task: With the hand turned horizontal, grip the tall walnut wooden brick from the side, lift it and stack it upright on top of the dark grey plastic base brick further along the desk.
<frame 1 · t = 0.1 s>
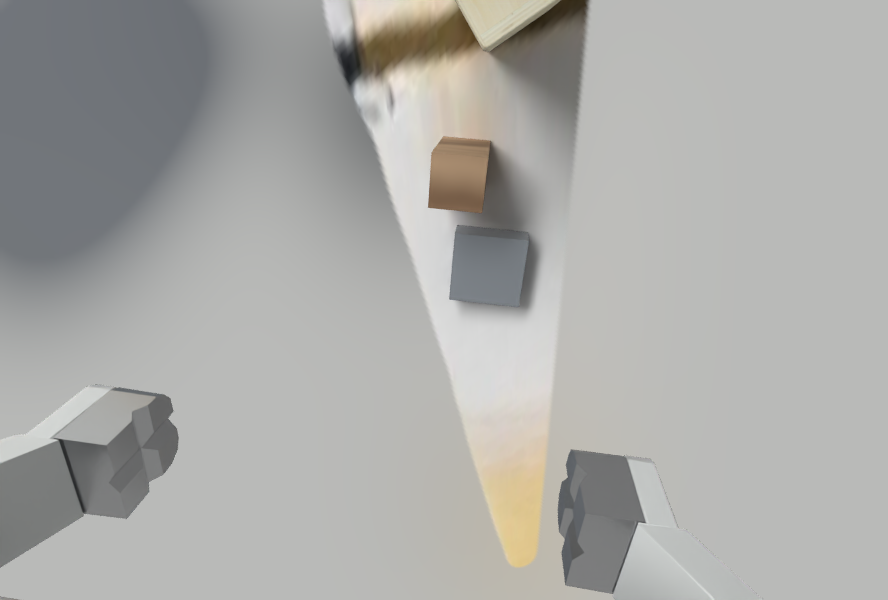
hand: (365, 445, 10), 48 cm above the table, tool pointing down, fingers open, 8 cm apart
walnut brick: (464, 162, 55), on the table
base brick: (488, 261, 59), on the table
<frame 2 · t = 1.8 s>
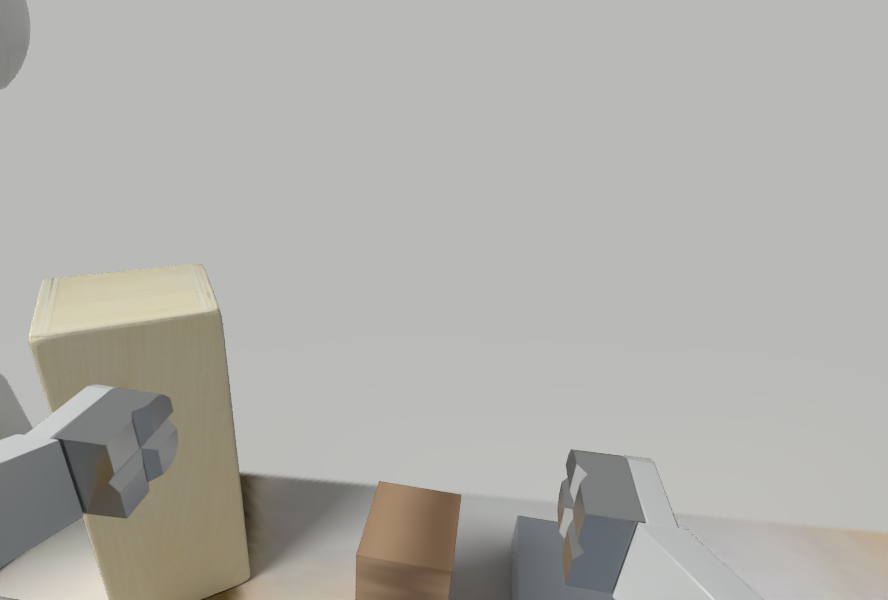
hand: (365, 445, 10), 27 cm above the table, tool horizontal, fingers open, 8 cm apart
tall pale wood block: (184, 560, 36), on the table
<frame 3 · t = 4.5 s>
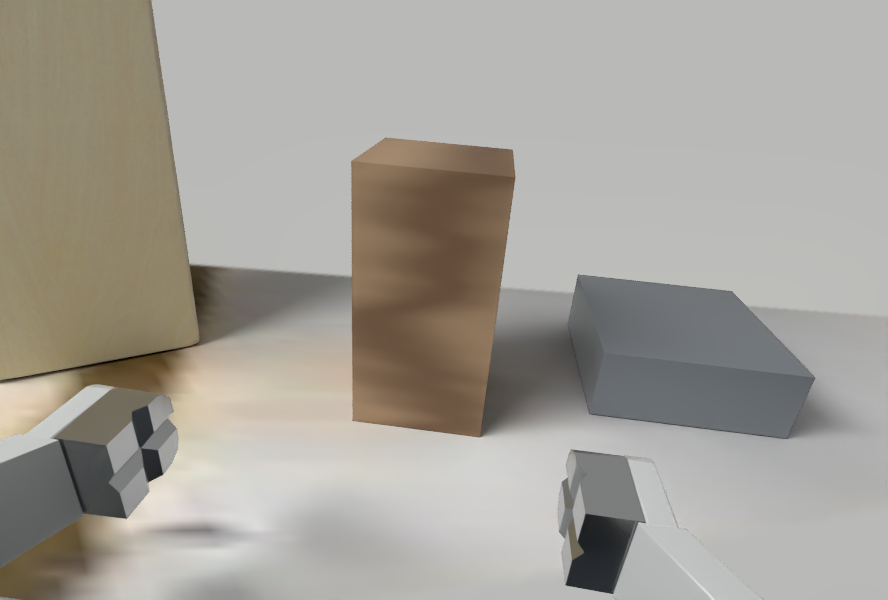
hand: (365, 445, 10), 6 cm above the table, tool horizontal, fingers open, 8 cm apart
walnut brick: (424, 390, 22), on the table
tall pale wood block: (106, 329, 25), on the table
base brick: (660, 372, 25), on the table
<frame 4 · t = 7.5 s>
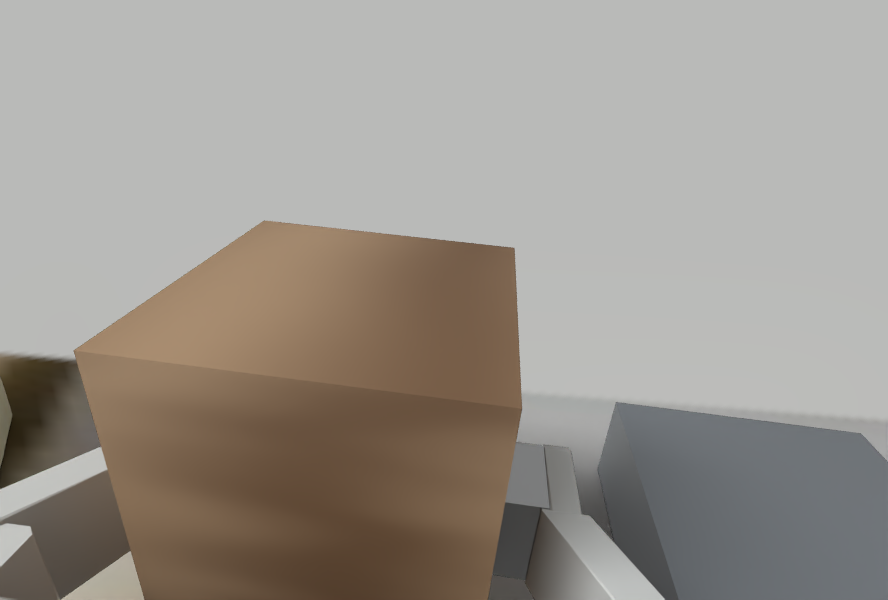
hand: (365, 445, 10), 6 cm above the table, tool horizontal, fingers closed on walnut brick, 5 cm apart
base brick: (758, 586, 15), on the table
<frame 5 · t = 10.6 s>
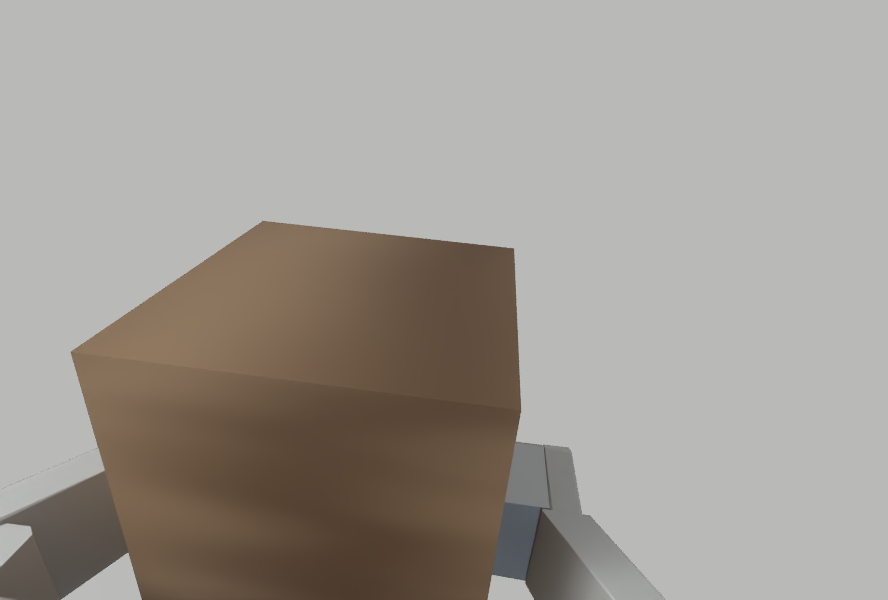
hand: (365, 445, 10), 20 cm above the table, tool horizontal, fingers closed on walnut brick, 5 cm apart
when the fingers open (10 cm above the table, at t = 13.9 s): walnut brick drops 1 cm, resting on base brick.
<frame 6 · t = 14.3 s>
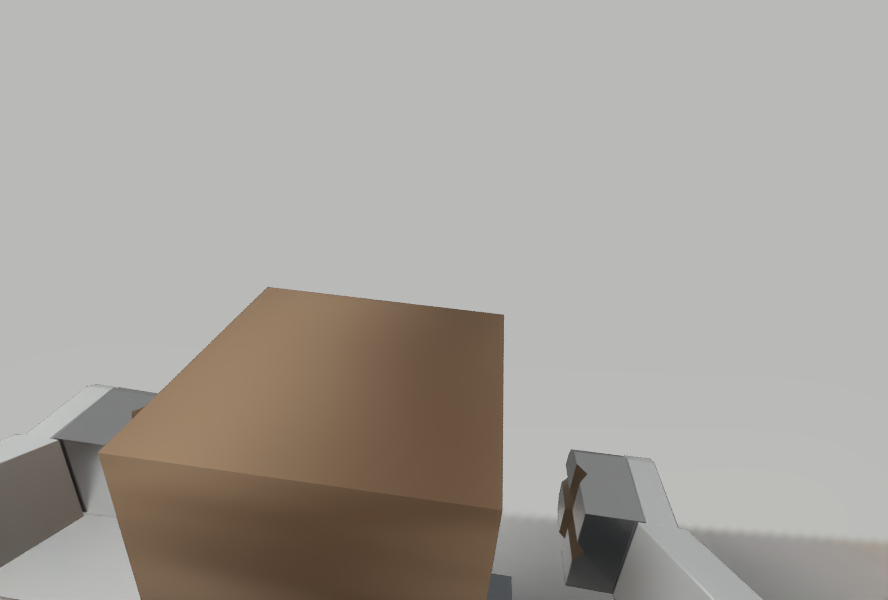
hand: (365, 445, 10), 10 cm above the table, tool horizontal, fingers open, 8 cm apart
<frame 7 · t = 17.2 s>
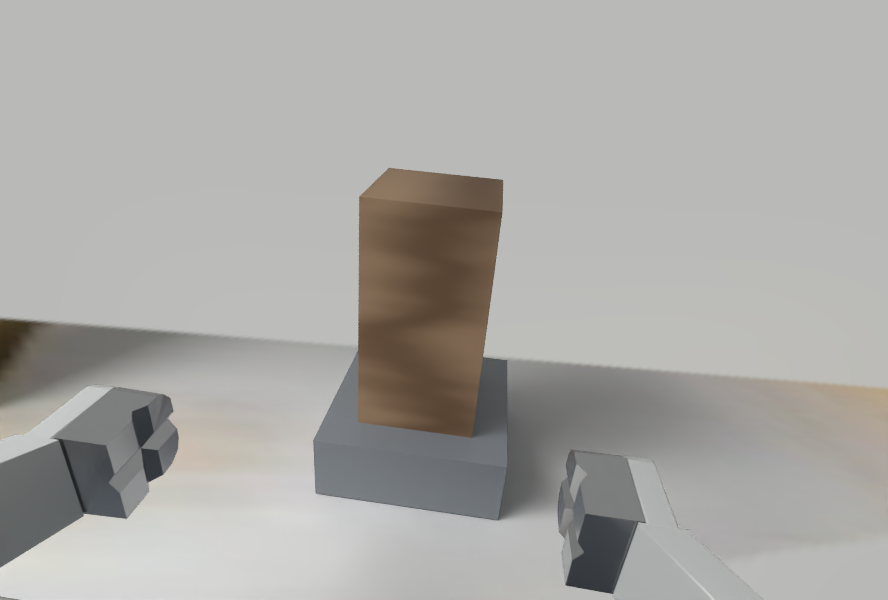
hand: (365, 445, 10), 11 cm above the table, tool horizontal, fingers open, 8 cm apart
walnut brick: (423, 395, 24), point 3 cm above the table, touching base brick
base brick: (419, 443, 26), on the table
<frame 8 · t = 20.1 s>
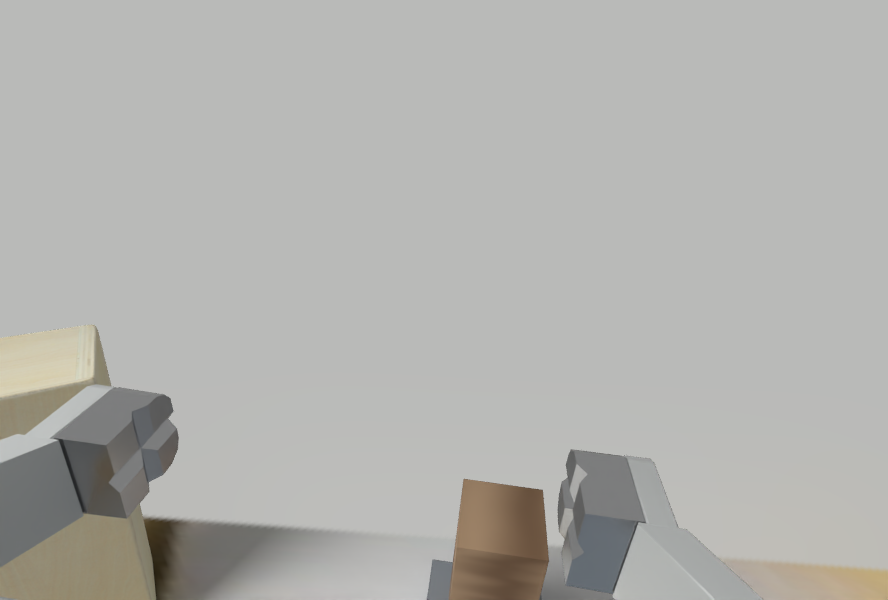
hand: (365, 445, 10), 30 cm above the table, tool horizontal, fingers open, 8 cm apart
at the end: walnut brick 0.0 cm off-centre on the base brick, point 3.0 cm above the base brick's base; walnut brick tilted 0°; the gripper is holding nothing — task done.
